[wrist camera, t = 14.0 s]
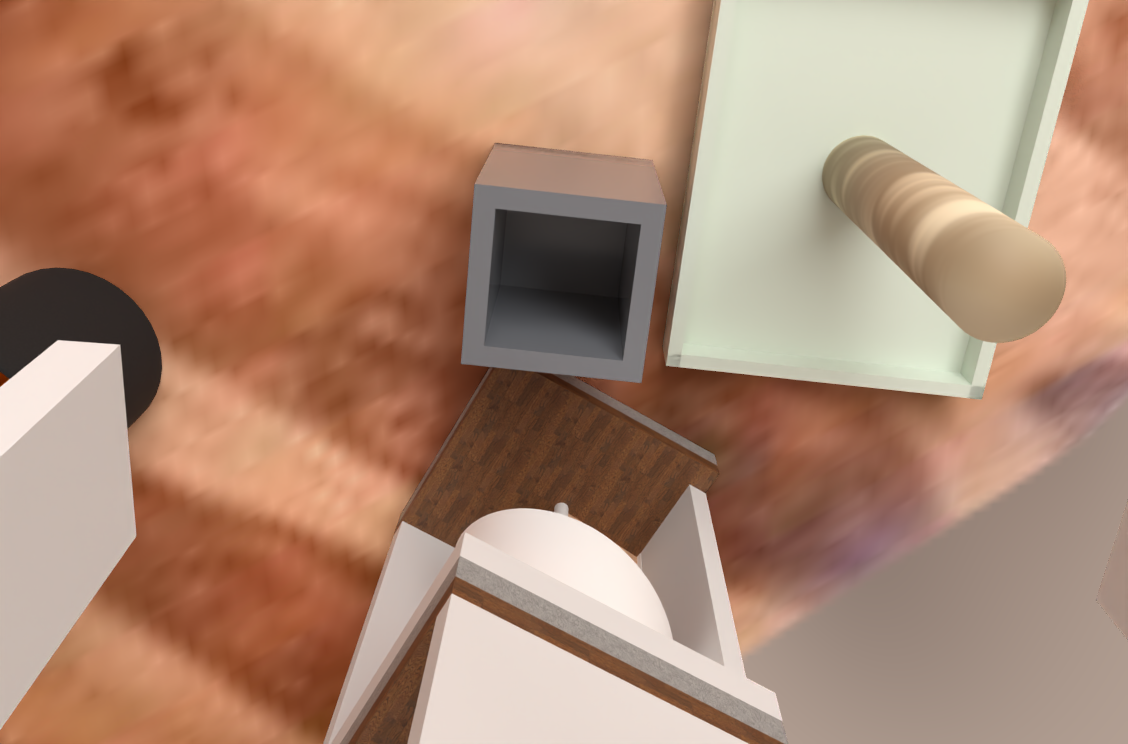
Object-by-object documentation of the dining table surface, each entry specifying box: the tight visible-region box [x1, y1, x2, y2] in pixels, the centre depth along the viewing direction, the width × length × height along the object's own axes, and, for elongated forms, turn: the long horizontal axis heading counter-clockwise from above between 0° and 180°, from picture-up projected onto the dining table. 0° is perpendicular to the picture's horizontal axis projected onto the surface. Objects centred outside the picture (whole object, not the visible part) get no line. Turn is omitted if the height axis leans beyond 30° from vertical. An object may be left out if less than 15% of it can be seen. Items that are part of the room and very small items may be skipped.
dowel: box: [822, 135, 1066, 343], centre depth 37 cm, size 3×3×17 cm
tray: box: [662, 0, 1089, 400], centre depth 45 cm, size 18×14×2 cm
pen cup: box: [461, 143, 667, 383], centre depth 43 cm, size 7×7×9 cm
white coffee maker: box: [323, 367, 788, 744], centre depth 35 cm, size 11×11×35 cm
